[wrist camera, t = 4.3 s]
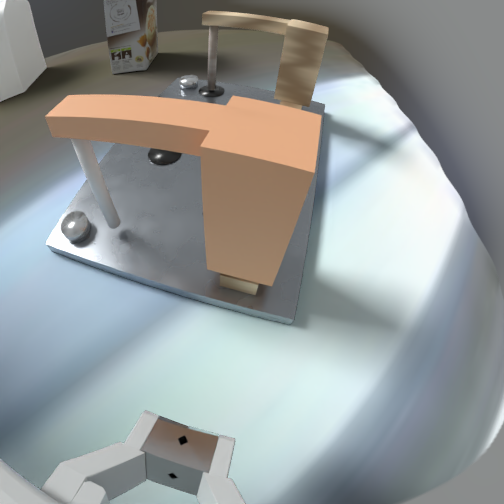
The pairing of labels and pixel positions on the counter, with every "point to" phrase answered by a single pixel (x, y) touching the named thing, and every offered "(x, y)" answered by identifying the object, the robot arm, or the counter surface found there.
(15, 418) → the counter surface
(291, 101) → the fixed leg
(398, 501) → the counter surface
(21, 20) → the milk
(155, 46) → the coffee box
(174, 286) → the hole plate
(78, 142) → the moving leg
